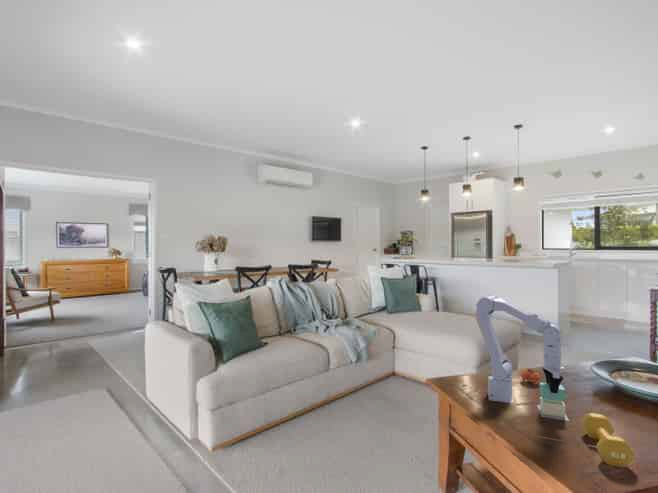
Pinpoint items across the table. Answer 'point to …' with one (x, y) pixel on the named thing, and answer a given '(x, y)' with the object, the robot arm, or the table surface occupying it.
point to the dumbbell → (607, 440)
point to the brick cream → (552, 407)
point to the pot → (530, 376)
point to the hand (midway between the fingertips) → (552, 389)
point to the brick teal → (548, 395)
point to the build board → (552, 415)
